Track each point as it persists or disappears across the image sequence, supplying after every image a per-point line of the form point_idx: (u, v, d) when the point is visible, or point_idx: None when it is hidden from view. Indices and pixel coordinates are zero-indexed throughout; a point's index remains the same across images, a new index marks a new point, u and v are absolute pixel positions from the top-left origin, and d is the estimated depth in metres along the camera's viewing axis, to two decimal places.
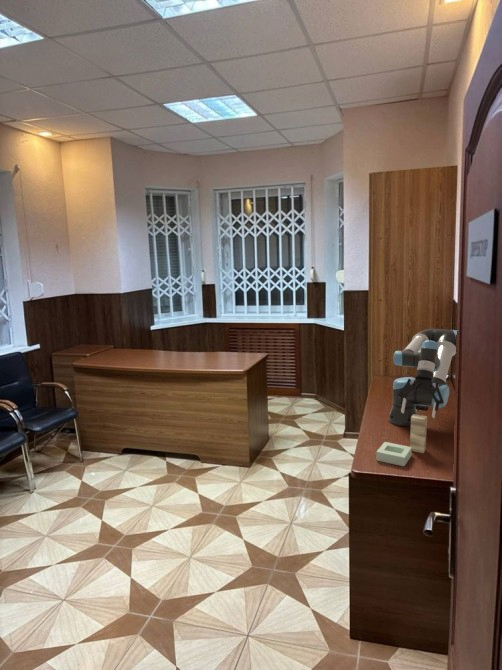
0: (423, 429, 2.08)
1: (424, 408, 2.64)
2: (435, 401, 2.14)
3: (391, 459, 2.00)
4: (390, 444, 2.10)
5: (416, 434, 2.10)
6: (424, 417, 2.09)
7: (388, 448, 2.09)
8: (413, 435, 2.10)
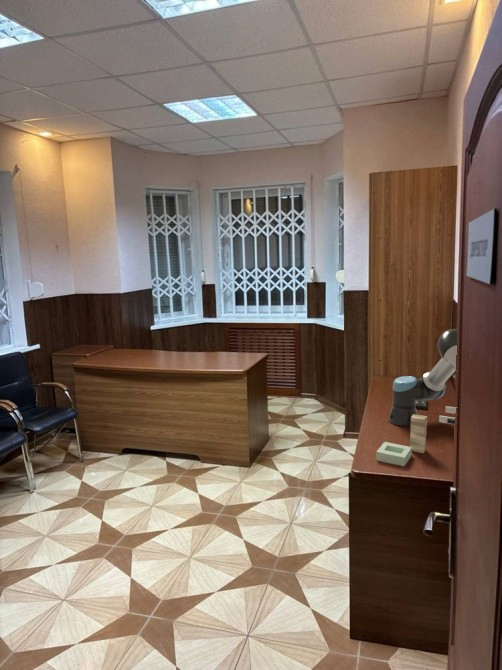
0: (423, 429, 2.08)
1: (424, 408, 2.64)
2: None
3: (391, 459, 2.00)
4: (390, 444, 2.10)
5: (416, 434, 2.10)
6: (424, 417, 2.09)
7: (388, 448, 2.09)
8: (413, 435, 2.10)
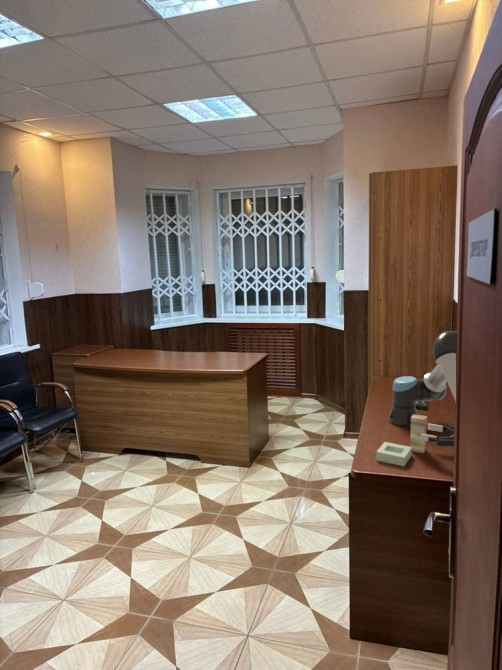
0: (423, 429, 2.08)
1: (425, 408, 2.64)
2: (445, 428, 2.10)
3: (391, 459, 2.00)
4: (390, 444, 2.10)
5: (416, 434, 2.10)
6: (424, 417, 2.09)
7: (388, 448, 2.09)
8: (413, 435, 2.10)
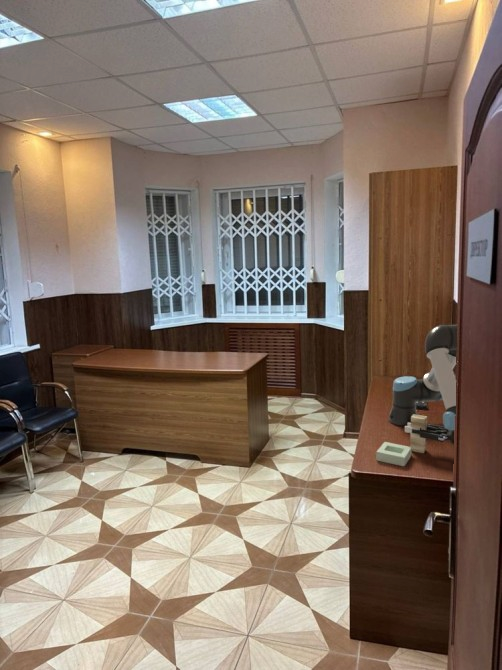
0: (423, 429, 2.08)
1: (426, 408, 2.64)
2: None
3: (391, 459, 2.00)
4: (390, 444, 2.10)
5: (416, 434, 2.10)
6: (424, 417, 2.09)
7: (388, 448, 2.09)
8: (413, 435, 2.10)
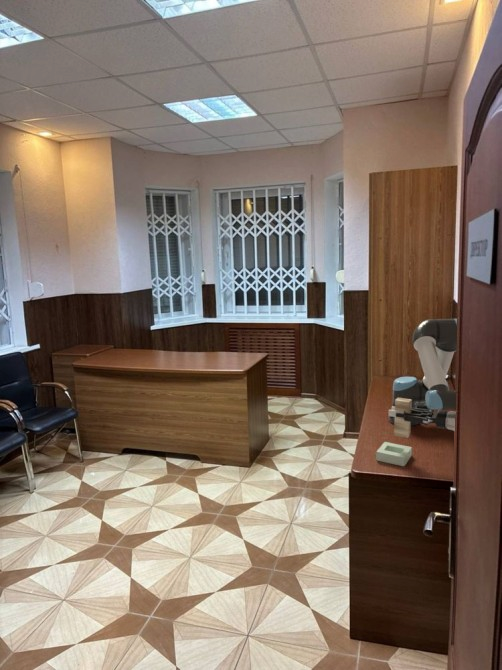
0: (408, 412, 2.00)
1: (426, 408, 2.65)
2: None
3: (391, 459, 2.00)
4: (390, 444, 2.10)
5: (401, 418, 2.02)
6: (409, 400, 2.01)
7: (388, 448, 2.09)
8: (397, 419, 2.02)
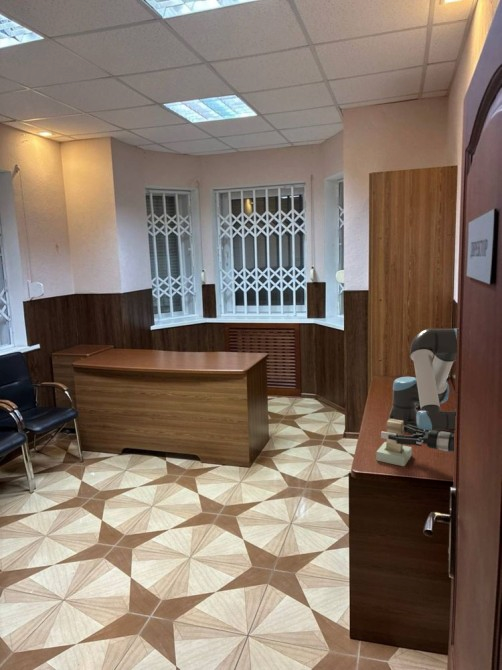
0: (399, 434, 2.00)
1: None
2: (406, 428, 2.06)
3: (391, 459, 2.00)
4: None
5: None
6: (400, 421, 2.01)
7: None
8: (389, 440, 2.03)
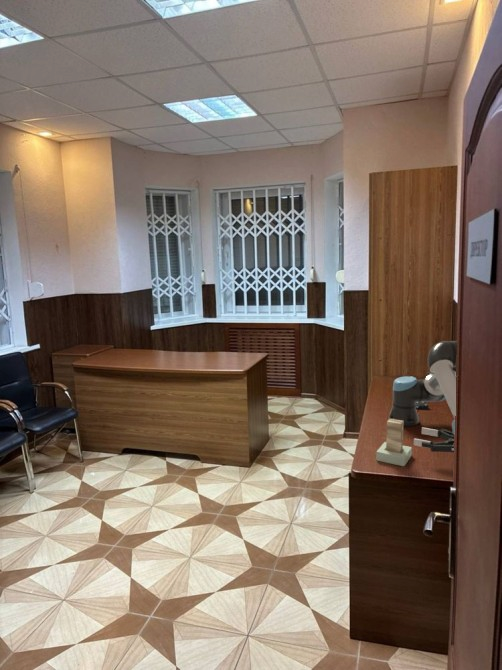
0: (399, 434, 2.00)
1: (427, 407, 2.65)
2: (440, 432, 1.99)
3: (391, 459, 2.00)
4: None
5: (392, 439, 2.02)
6: (400, 421, 2.01)
7: None
8: (389, 440, 2.03)
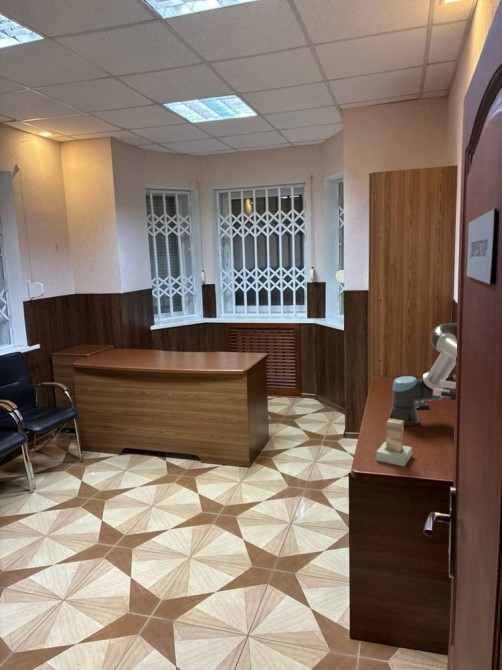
0: (399, 434, 2.00)
1: (428, 407, 2.65)
2: None
3: (391, 459, 2.00)
4: None
5: (392, 439, 2.02)
6: (400, 421, 2.01)
7: None
8: (389, 440, 2.03)
